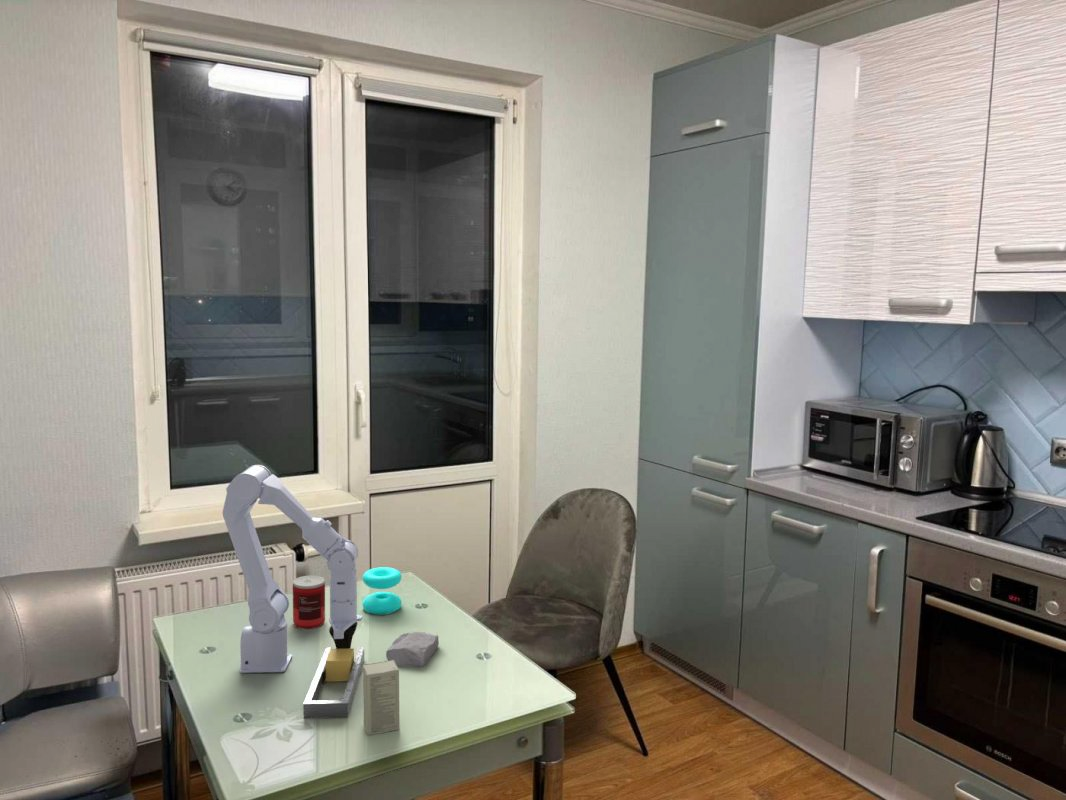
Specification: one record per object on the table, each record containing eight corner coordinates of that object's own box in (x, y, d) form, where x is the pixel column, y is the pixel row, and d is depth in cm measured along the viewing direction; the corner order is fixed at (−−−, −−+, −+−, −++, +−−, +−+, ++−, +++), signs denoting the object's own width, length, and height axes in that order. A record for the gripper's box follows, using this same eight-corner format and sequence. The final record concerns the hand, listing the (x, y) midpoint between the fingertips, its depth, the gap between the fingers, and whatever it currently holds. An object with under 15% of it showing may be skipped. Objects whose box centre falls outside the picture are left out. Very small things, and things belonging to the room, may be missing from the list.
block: (325, 681, 169) (325, 661, 168) (330, 668, 174) (330, 648, 174) (349, 681, 169) (349, 660, 168) (353, 668, 175) (353, 648, 174)
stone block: (384, 672, 178) (426, 668, 176) (380, 651, 178) (422, 647, 176) (402, 651, 190) (442, 647, 188) (399, 631, 189) (439, 627, 187)
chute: (303, 718, 154) (303, 703, 153) (326, 660, 179) (326, 647, 178) (347, 717, 155) (347, 703, 154) (364, 659, 179) (364, 646, 179)
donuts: (356, 576, 204) (372, 564, 214) (356, 613, 206) (372, 599, 215) (392, 580, 202) (407, 567, 212) (392, 618, 203) (407, 603, 213)
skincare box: (395, 718, 155) (395, 659, 153) (400, 730, 150) (400, 669, 149) (362, 724, 152) (362, 664, 151) (366, 736, 148) (366, 674, 147)
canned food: (311, 614, 204) (310, 573, 203) (332, 622, 200) (331, 580, 198) (286, 623, 198) (285, 581, 197) (307, 632, 194) (306, 588, 192)
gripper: (357, 610, 168) (357, 671, 170) (365, 585, 182) (366, 642, 184) (323, 610, 167) (323, 672, 169) (334, 585, 182) (334, 642, 183)
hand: (343, 656), depth 176 cm, fingers closed
